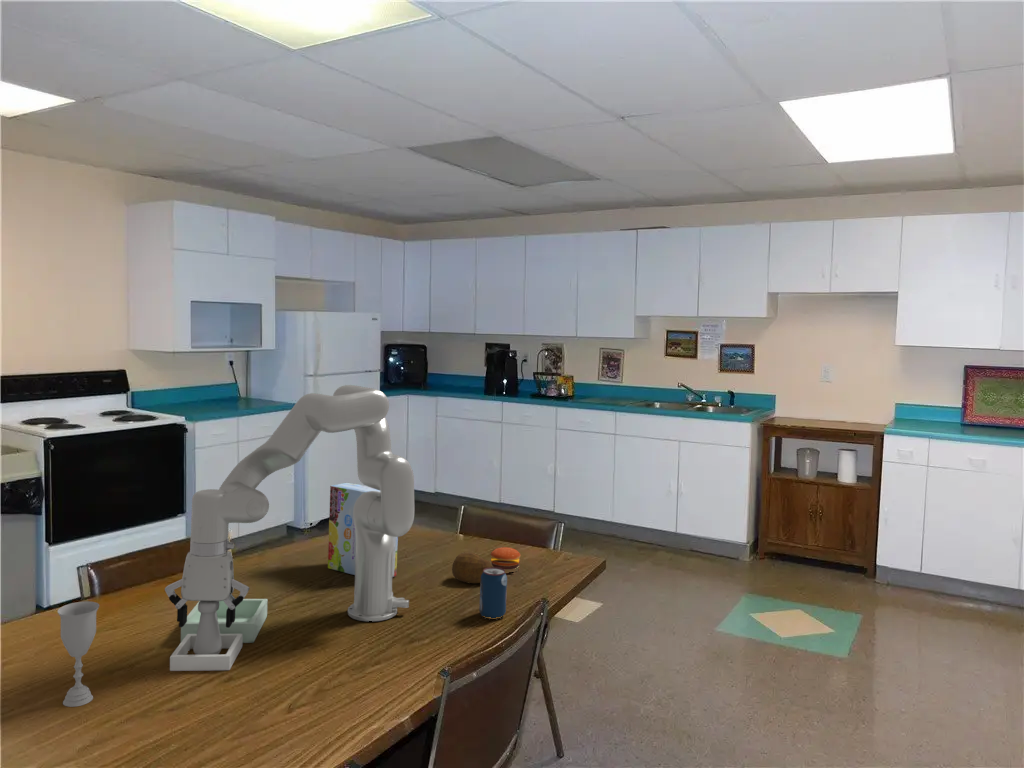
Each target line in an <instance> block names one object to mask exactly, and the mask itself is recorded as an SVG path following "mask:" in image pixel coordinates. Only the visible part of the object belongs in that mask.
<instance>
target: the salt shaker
mask: <svg viewBox="0 0 1024 768" xmlns="http://www.w3.org/2000/svg"><path fill="white" fill-rule="evenodd" d="M198 602H199V601H198ZM218 609H219V601H200V602H199V604H198V611H199V612H200V613H201V616H200V621H199V626H198V630H197V635H196V640H195V644H194V649H192V650H193V653H194V655H213V654H221V651H222V649H223V648H222V641H221V635H220V629H219V624H218V618H217V612H216V611H217V610H218Z"/></svg>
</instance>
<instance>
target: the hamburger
mask: <svg viewBox="0 0 1024 768" xmlns="http://www.w3.org/2000/svg"><path fill="white" fill-rule="evenodd" d="M489 555H490V556H491V558H490V563H491V564H492V567H497V568H502V569H504V570H514V569H516V568H518V567H520V563H521V560H520V558H521V556H522V555H521V553H520V552H519V551H518V550H517V549H515V548H512V547H510V546H509V547H506V546H505V547H504V546H502V547H496V548H495V549H494V550H493V551H490V554H489Z"/></svg>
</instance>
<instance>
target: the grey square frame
mask: <svg viewBox="0 0 1024 768" xmlns="http://www.w3.org/2000/svg"><path fill="white" fill-rule="evenodd" d="M196 635H197V634H187V635H186V637H185V638H184V639H183V641H182V642H181V641H180V643H179V645H178V646H177V647H176V648H175V650H174V651H173V652H172V653H171V655H170V657H169V671H170V672H182V671H185V672H187V671H189V672H191V671H193V672H194V671H195V672H196V671H197V672H199V671H200V672H201V671H230V670H231V668H232V667H233V664H234V663H235V661H236V659H237V657H238V655H240V654H239V653H240V652H241V649H242V648H243V645H244V643H243V634H220V635H221V641H222V648H221V649H228V650H227V651H226V653H225V654H221V653H219V654H213V655H195V654H188V653H189V652H190V651H191V650H193V649H194V644H195V640H196ZM188 651H189V652H188Z"/></svg>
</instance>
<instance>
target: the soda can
mask: <svg viewBox="0 0 1024 768" xmlns="http://www.w3.org/2000/svg"><path fill="white" fill-rule="evenodd" d="M479 585H480V588H479V590H480V591H479V609H478V610H479V614H480V615H481V617H482V616H485V617H491V618H496V617H501V616H503V615H504V616H505V614H506V611H507V596H508V595H507V593H508V592H507V591H508V576H507V573H505V570H504V569H502V568H497V567H490V568H485V569H484V570H483V573H482V575H481V582H480V584H479ZM504 616H503V617H504Z"/></svg>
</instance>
